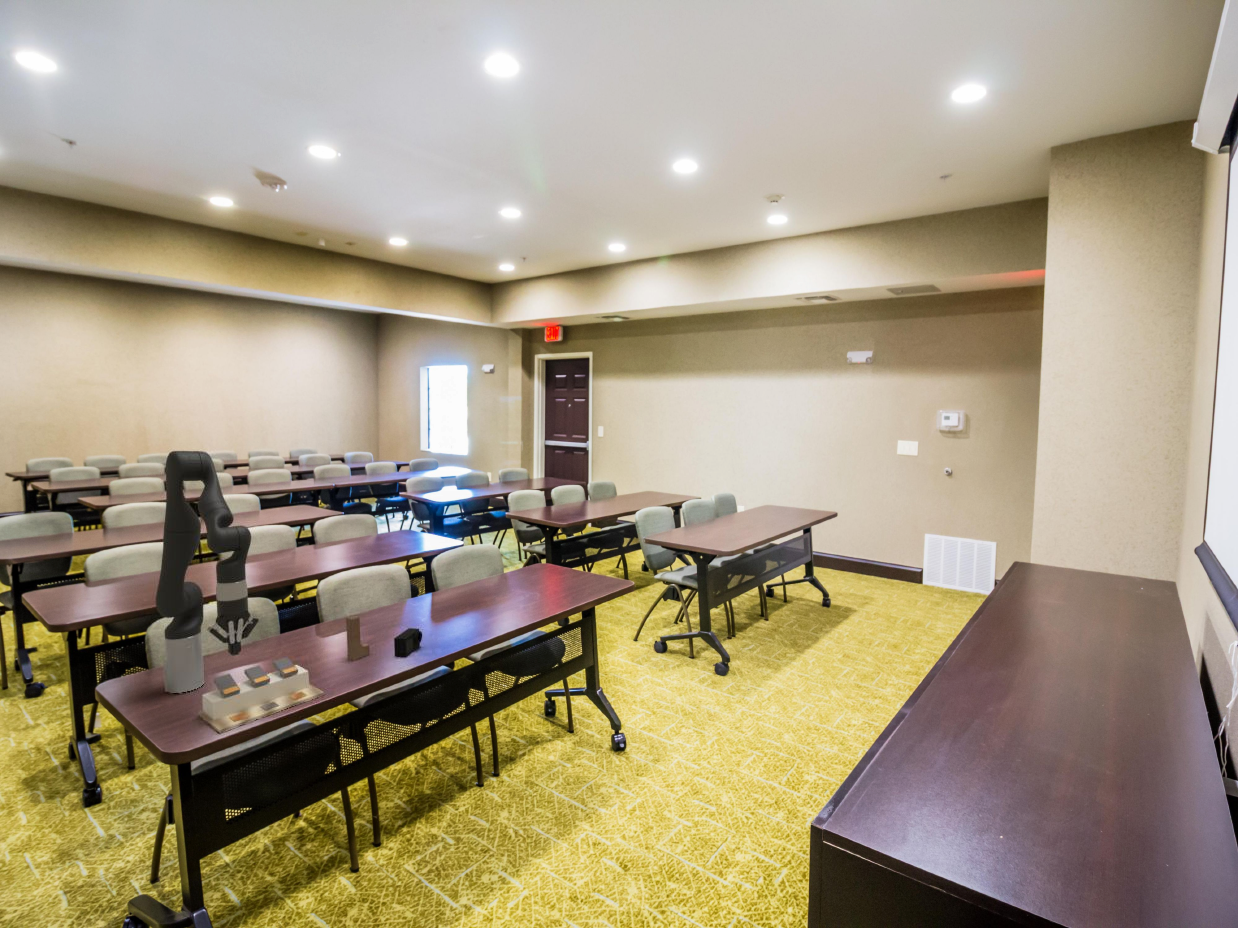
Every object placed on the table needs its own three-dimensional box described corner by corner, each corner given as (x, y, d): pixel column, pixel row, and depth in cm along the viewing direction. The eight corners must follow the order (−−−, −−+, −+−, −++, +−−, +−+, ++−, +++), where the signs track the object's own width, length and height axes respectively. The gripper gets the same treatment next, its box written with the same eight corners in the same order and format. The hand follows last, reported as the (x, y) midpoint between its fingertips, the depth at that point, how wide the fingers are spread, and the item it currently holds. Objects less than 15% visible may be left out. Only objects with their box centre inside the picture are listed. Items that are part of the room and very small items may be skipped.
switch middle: (255, 686, 175) (255, 683, 175) (244, 673, 179) (244, 669, 179) (269, 682, 178) (270, 678, 178) (258, 668, 183) (259, 665, 182)
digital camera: (408, 658, 211) (408, 638, 211) (394, 657, 212) (393, 637, 212) (423, 646, 221) (422, 628, 221) (409, 646, 222) (408, 627, 222)
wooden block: (352, 660, 209) (351, 619, 208) (347, 658, 211) (345, 617, 209) (369, 654, 214) (368, 613, 213) (364, 652, 216) (363, 612, 215)
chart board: (219, 733, 161) (219, 729, 161) (198, 715, 171) (198, 711, 171) (324, 695, 183) (323, 691, 183) (300, 681, 193) (299, 677, 193)
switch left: (224, 697, 169) (224, 694, 168) (213, 681, 173) (213, 677, 173) (239, 692, 172) (240, 689, 172) (229, 676, 176) (229, 673, 176)
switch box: (213, 719, 167) (212, 699, 166) (203, 711, 171) (201, 691, 171) (309, 686, 187) (308, 668, 186) (297, 679, 192) (296, 662, 191)
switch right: (284, 677, 181) (284, 673, 181) (272, 664, 186) (273, 660, 185) (297, 672, 184) (298, 669, 184) (286, 660, 189) (286, 656, 189)
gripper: (209, 603, 164) (212, 665, 166) (262, 593, 174) (265, 650, 176) (200, 598, 169) (203, 658, 170) (252, 588, 179) (255, 644, 180)
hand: (235, 654), depth 173 cm, fingers closed
